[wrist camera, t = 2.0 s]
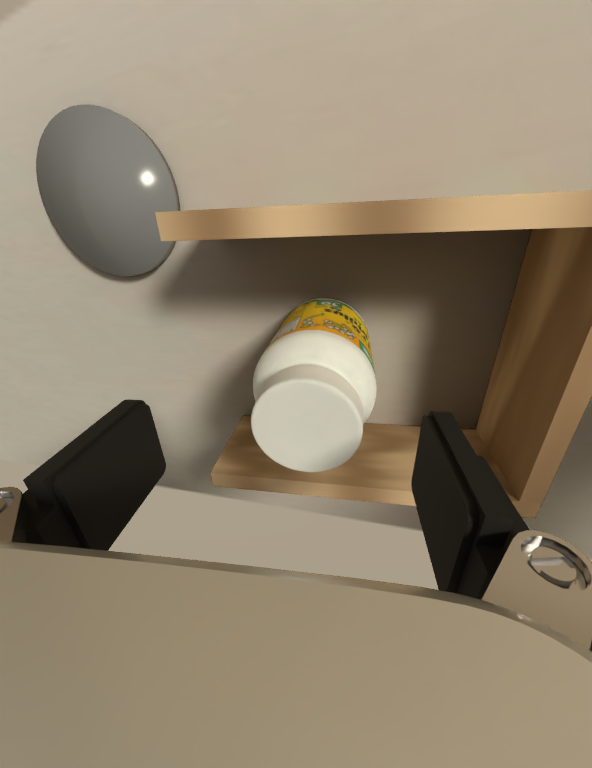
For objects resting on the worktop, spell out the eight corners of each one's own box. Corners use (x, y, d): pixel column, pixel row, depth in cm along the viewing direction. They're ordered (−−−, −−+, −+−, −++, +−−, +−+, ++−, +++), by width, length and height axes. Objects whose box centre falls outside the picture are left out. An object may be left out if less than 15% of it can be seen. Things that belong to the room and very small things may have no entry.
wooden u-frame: (564, 199, 14) (688, 185, 9) (488, 443, 21) (535, 518, 15) (216, 216, 17) (154, 212, 12) (244, 426, 23) (213, 485, 18)
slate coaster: (161, 100, 15) (154, 96, 14) (192, 274, 19) (187, 275, 18) (22, 116, 16) (10, 112, 16) (76, 275, 20) (69, 277, 19)
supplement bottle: (265, 335, 20) (200, 419, 11) (327, 275, 17) (305, 323, 9) (322, 392, 21) (302, 506, 12) (387, 343, 19) (416, 441, 10)
